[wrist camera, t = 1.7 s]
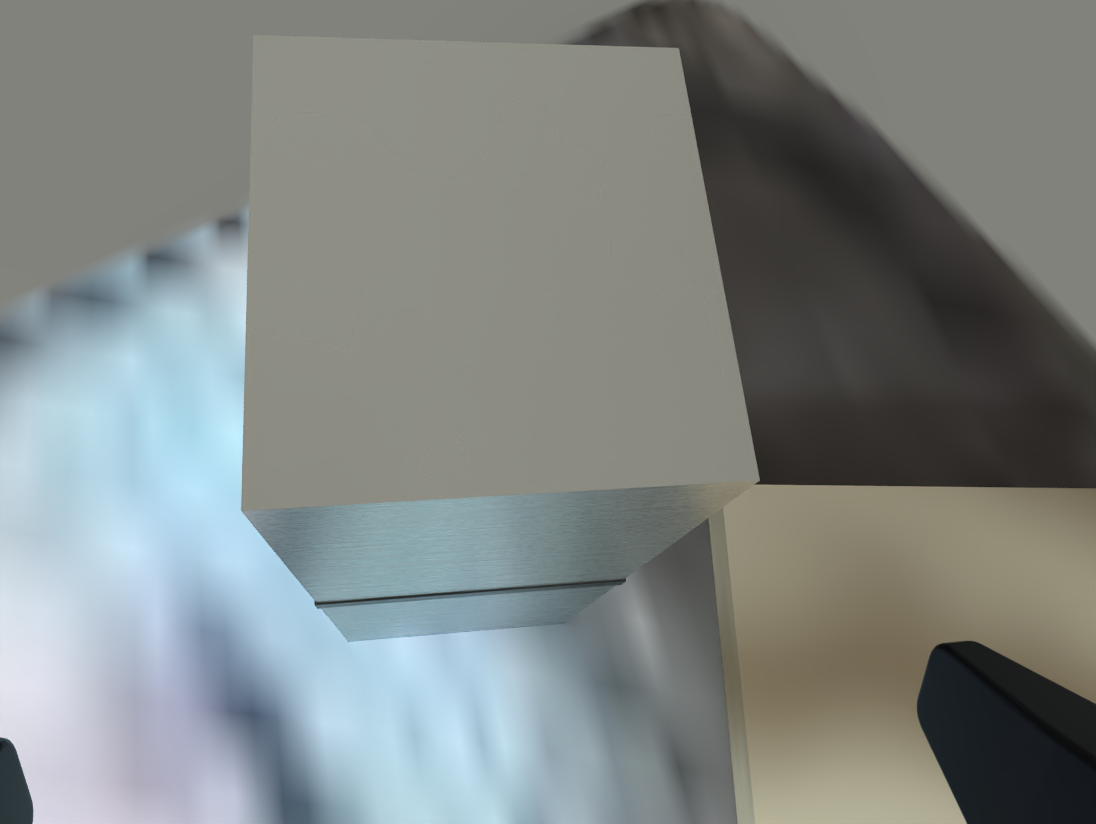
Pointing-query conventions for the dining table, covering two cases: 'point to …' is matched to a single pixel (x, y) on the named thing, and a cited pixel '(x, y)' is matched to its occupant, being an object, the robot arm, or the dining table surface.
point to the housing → (480, 328)
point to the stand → (883, 631)
